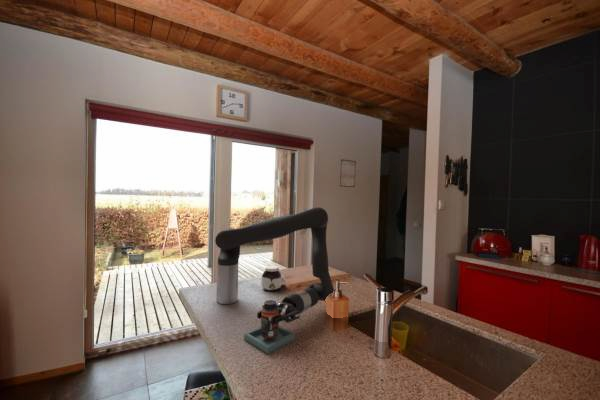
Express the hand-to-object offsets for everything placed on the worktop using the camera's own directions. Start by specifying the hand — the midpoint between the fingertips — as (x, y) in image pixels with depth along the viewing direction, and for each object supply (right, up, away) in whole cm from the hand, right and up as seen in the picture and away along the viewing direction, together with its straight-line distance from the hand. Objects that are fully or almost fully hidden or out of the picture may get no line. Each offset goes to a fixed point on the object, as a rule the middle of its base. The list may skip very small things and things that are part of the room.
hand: (264, 318), depth 90 cm
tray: (+1, -8, +2) cm, 8 cm away
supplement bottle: (+1, -7, +2) cm, 7 cm away
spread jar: (-2, -8, +54) cm, 55 cm away
